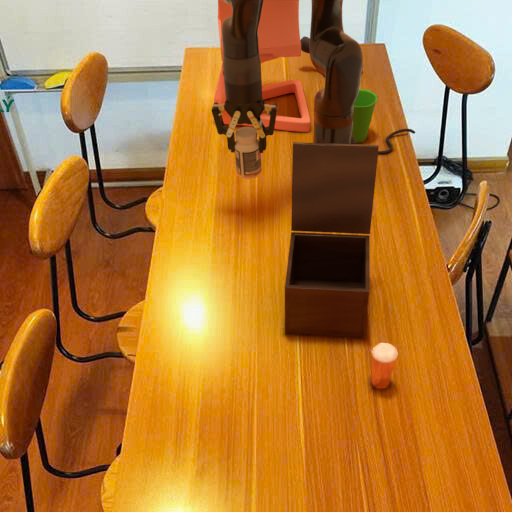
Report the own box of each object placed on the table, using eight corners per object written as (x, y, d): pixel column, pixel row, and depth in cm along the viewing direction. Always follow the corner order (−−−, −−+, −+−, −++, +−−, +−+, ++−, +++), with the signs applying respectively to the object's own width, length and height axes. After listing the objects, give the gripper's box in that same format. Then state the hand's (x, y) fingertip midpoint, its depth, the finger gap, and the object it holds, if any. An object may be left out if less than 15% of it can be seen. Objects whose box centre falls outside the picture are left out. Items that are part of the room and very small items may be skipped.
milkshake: (361, 374, 130) (366, 337, 122) (389, 372, 130) (396, 335, 122) (365, 393, 127) (371, 356, 119) (394, 390, 127) (401, 353, 119)
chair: (212, 94, 198) (200, -43, 171) (300, 89, 199) (302, -49, 172) (215, 138, 183) (203, -5, 156) (311, 132, 184) (315, -11, 157)
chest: (363, 338, 136) (369, 291, 126) (284, 334, 137) (284, 287, 127) (364, 282, 146) (369, 235, 136) (290, 279, 147) (291, 231, 138)
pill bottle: (265, 168, 156) (263, 127, 148) (256, 182, 153) (254, 141, 145) (241, 164, 157) (238, 123, 149) (232, 178, 154) (229, 137, 146)
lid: (378, 146, 124) (378, 144, 125) (292, 143, 126) (293, 142, 126) (369, 234, 136) (369, 232, 136) (291, 231, 137) (291, 229, 138)
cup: (371, 148, 179) (375, 107, 170) (337, 145, 180) (339, 104, 172) (375, 130, 184) (379, 90, 176) (341, 127, 186) (344, 87, 177)
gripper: (279, 65, 139) (281, 142, 152) (209, 64, 140) (217, 140, 153) (276, 84, 134) (278, 161, 148) (204, 83, 136) (212, 159, 149)
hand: (247, 150), depth 150 cm, fingers closed on pill bottle, 5 cm apart
